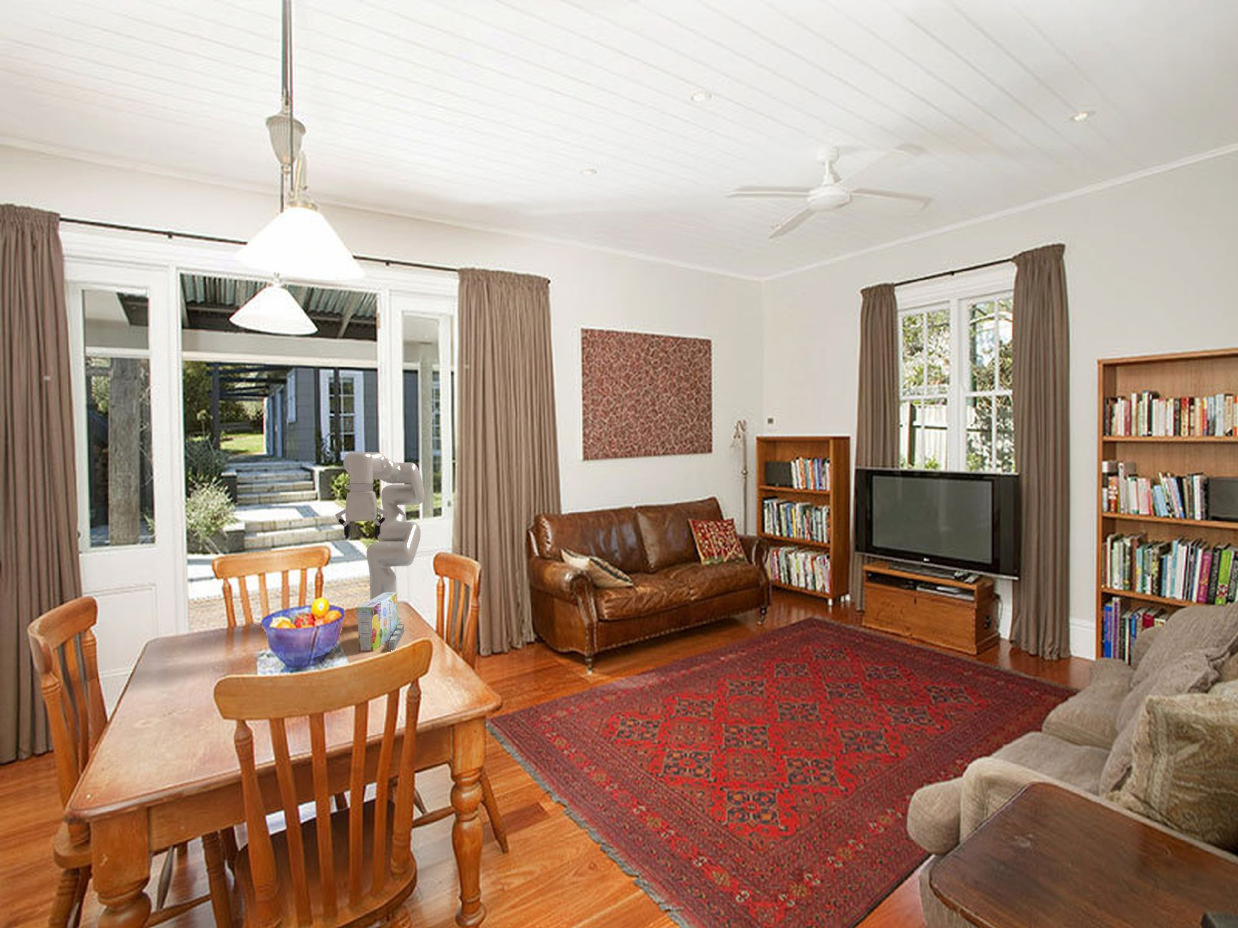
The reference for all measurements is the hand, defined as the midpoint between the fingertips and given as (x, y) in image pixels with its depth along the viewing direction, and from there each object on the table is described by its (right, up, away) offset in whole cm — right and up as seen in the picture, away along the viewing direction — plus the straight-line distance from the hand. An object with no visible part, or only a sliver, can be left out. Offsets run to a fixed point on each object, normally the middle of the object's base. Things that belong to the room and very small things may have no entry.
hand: (362, 537), depth 222 cm
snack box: (+6, -37, -1) cm, 37 cm away
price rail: (+12, -36, -1) cm, 38 cm away
